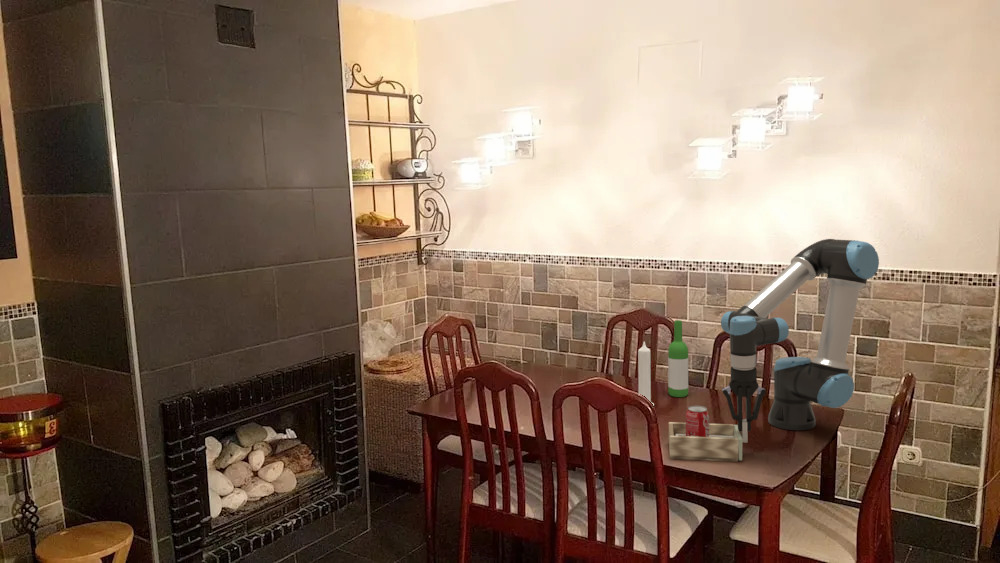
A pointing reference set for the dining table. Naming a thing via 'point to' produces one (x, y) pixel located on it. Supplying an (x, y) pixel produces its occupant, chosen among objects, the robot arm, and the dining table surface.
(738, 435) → the drawer
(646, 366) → the candle
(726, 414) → the dining table surface
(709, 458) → the light brown hollow box
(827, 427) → the dining table surface
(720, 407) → the dining table surface
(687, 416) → the soda can
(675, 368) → the wine bottle
